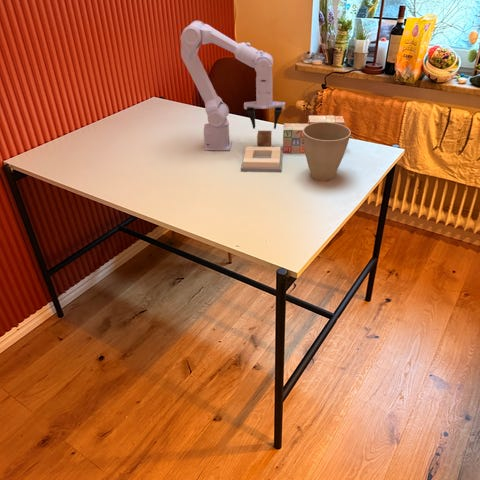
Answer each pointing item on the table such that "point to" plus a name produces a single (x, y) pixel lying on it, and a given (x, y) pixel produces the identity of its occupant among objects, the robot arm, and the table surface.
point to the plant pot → (325, 148)
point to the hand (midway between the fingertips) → (264, 127)
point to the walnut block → (264, 139)
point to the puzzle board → (262, 159)
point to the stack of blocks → (294, 132)
